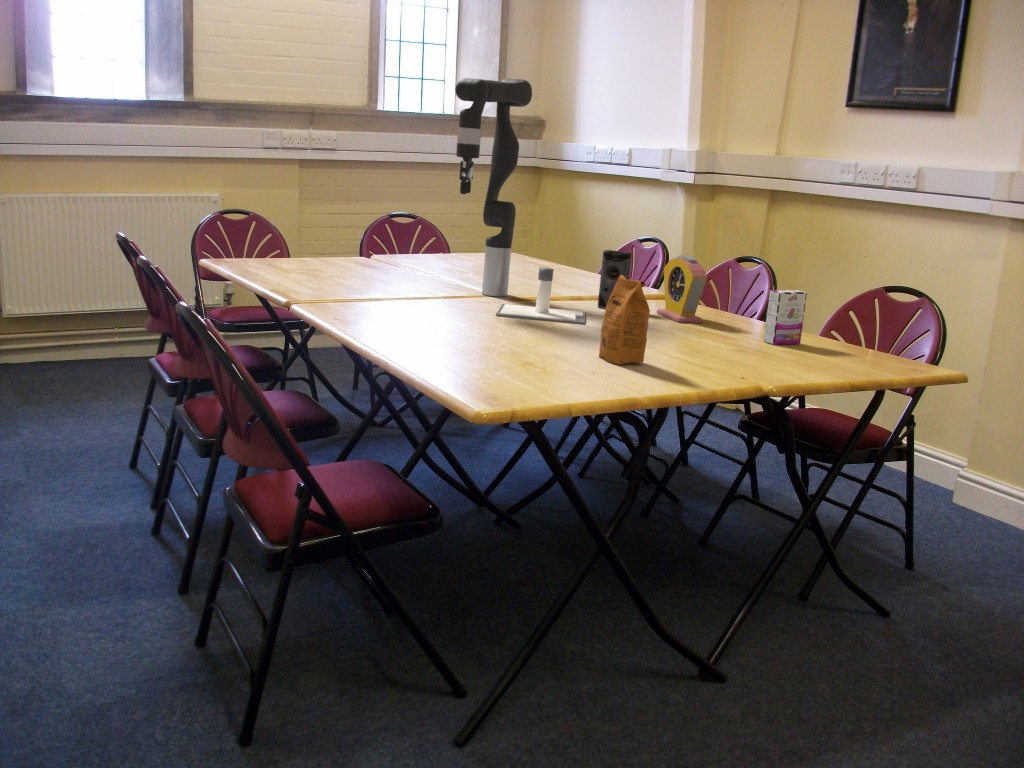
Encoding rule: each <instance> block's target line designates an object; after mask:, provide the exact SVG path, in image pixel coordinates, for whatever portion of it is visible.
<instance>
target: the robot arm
mask: <svg viewBox="0 0 1024 768" xmlns="http://www.w3.org/2000/svg"><path fill="white" fill-rule="evenodd" d="M454 91H455V94H456V96H457V98H458V99H459V100H461V101H463V102H472V104H471V106H470V107H468V108H463V109H461V110H460V112H459V120H458V132H457V136H456V137H457V138H456V139H457V140H456V150H455V151H456V152H455V153H456V154H455V155H456V157H457V158H462V160H461V161H460V163H459V164H460V165H459V167H460V169H459V182H460V185H459V186H460V187H459V189H460V190H459V193H460V194H461V195H466V194H470V193H471V188H472V181H473V179H474V167H475V165H474V163H475V162H474V161H473V159H479V158H480V154H481V153H480V150H481V137H482V135H481V127H482V126H481V125H482V115H483V112H484V109H485V106H486V103H496V119H495V120H496V121H495V128H494V129H495V130H494V136H493V143H492V144H493V145H492V149H491V150H492V152H491V161H490V172H489V177H488V178H489V180H488V184H487V192H486V196H485V200H484V205H483V213H482V220H483V223H484V225H485V226H486V227H493V228H501V229H500V232H499V233H498V234H495V235H493V236H489V237H487V238H486V239H485V248H484V250H485V251H484V259H483V260H484V263H483V275H482V286H481V287H482V289H481V294H482V295H484V296H485V295H486V296H490V297H491V296H492V297H507V296H508V292H509V279H510V269H511V268H510V266H511V255H512V253H511V252H512V245H513V237H514V231H515V223H516V214H517V213H516V212H517V211H516V205H515V204H514V202H511V201H504V200H498V199H499V194H500V191H501V190H502V186H503V185H504V184H505V182H506V181H507V180H508V179H509V177H510V176H511V175H512V173H513V172H514V171H515V169H516V168H517V166H518V161H519V160H518V159H519V152H520V143H519V140H518V137H517V135H516V133H515V131H514V129H513V126H512V123H511V119H510V118H511V116H510V113H511V111H510V110H511V107H513V108H515V107H517V108H523V107H526V106H528V105H529V104H530V103H531V100H532V98H533V87H532V84H531V83H530V82H529V81H528V80H526V79H522V78H503V79H502V80H501V81H498V80H494V79H493V80H492V79H482V78H466V77H465V78H461V79H460V80H459V81H457V83H456V85H455V90H454Z"/></svg>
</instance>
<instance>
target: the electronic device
mask: <svg viewBox="0 0 1024 768" xmlns="http://www.w3.org/2000/svg"><path fill="white" fill-rule="evenodd" d="M631 259H632V252H629V251H621V250H613V249H612V250H611V249H605V250H603V252H602V260H601V270H600V279H599V289H598V300H597V308H598V309H603V310H606V306H607V303H608V300H609V298H610V295H611V293H612V291H613V289H614V286H615V285H616V283H617V281H618V278H619V276H620V275H623V276H624V277H625V278H626V279H627V280H628V279H630V274H631V262H632V261H631Z"/></svg>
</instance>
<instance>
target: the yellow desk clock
mask: <svg viewBox="0 0 1024 768" xmlns="http://www.w3.org/2000/svg"><path fill="white" fill-rule="evenodd" d="M707 280H708V276H707V274H706V270H705V269H704V267H703V265H702V264H701V263H700V262H699V261H698V260H697V259H696V258H695V257H694V256H693V255H684V254H683V255H682V254H681V255H677V256H676V257H675V258H672V259H670V260H669V261H668V262H667V263H666V264H665V266H664V267H663V282H664V301H665V303H664V304H665V308H664V309H663V308H662V309H661V308H658V309H657V310H656V314H657V315H659V316H662V317H664V318H666V319H669V320H671V321H674V322H676V323H678V324H702V323H704V319H703V318H702V317H700V316H697V315H696V312H697V310H698V307H699V303H700V301H701V297H702V295H703V292H704V289H705V285H706V282H707Z"/></svg>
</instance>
